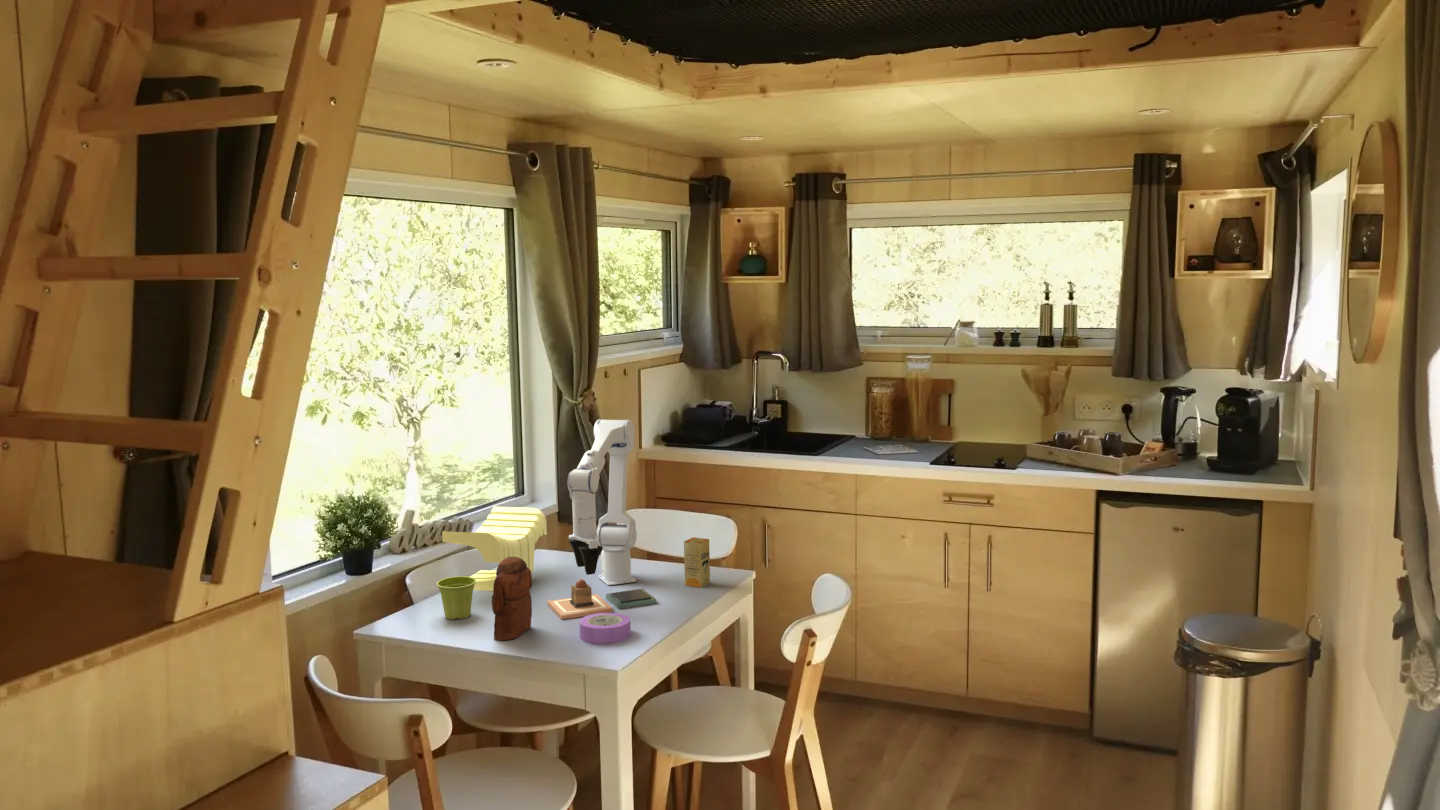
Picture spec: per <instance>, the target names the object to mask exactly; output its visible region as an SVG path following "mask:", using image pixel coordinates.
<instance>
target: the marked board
mask: <svg viewBox="0 0 1440 810" xmlns="http://www.w3.org/2000/svg"><path fill="white" fill-rule="evenodd" d="M570 600H572V598H571V597H567V598H561V599H560V598H559V599H553V600H547V601H546V603H547V604H546V605H547V606H548V607H549V608H550V609H551V610H552V612H554V614H555V615H556V616H558V618H559V619H560V620H562V621H563V620H568V619H575V618H581V617H582V618H583V617H585V616H588V615H592V614H598V613H614V611H613V610H614V608H613V607H612V606H611V605H610V604H609V603H608V602H606V601H605V600H604V599H603V598H602V597H600V596H599V595H598V594H597V593H595V594H592V602H593V606H586V607H579V608H575V607H574V606H573V605H572V604H571V603H570Z"/></svg>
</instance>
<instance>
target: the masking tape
mask: <svg viewBox="0 0 1440 810" xmlns="http://www.w3.org/2000/svg"><path fill="white" fill-rule="evenodd" d="M631 633H632V631H631V618H630V617H629V616H628V615H626V614H622V613H615V612H609V613H598V614H592V615H588V616H582V618H581V619H579V638H580V639H581V640H582V641H583V642H586V643H589V644H597V645H598V644H599V645H601V644H602V645H606V644H615V643H619V642H623V641H624V640H627V639H629V638H630V637H631Z"/></svg>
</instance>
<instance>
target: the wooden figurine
mask: <svg viewBox="0 0 1440 810" xmlns="http://www.w3.org/2000/svg"><path fill="white" fill-rule="evenodd" d="M496 570H497V571H496V576H497V577H496V578H495V581H494V586H493V591H492V592H493V593H492V595H491V606H492V607H491V608H492V612H493V615H494V623H493V628H494V631H493V639H494V640H497V641H499V640H500V641H510V640H513V639H516V638H519V637H520V636H521V635H522V634H524V633H525V632H526V631H528V630H530V628H531V627H532V616H533V615H532V614H533V608H532V607H533V606H532V605H533V603H532V595H531V591H530V589H531V588H532V586H533V581H532V580H533V578H532V577H533V576H532V575H533V573H532V574H531V571H530V569H529V568H528V567H527V565H526V562H525V561H524V560H522V559H521V558H519V557H507V558H505V559H503V560H502V561H501V562H500V563H498V565H497V568H496Z"/></svg>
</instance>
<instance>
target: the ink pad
mask: <svg viewBox="0 0 1440 810" xmlns="http://www.w3.org/2000/svg"><path fill="white" fill-rule="evenodd" d="M605 599H606V600H607V601H608V602H609V603H611V604H612V605H613V606H614V607H616V609H618V610H621V609H629V608H633V607H641V606H642V605H643V606H649V604H650V605H655V604H657V599H656V598H655V597H654V596H653V595H652V594H650V593H649V592H647V590H645V589H643V588H637V589H631V590H630V589H629V590H625V591H624V590H623V591H617V592H609V593H605Z"/></svg>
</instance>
